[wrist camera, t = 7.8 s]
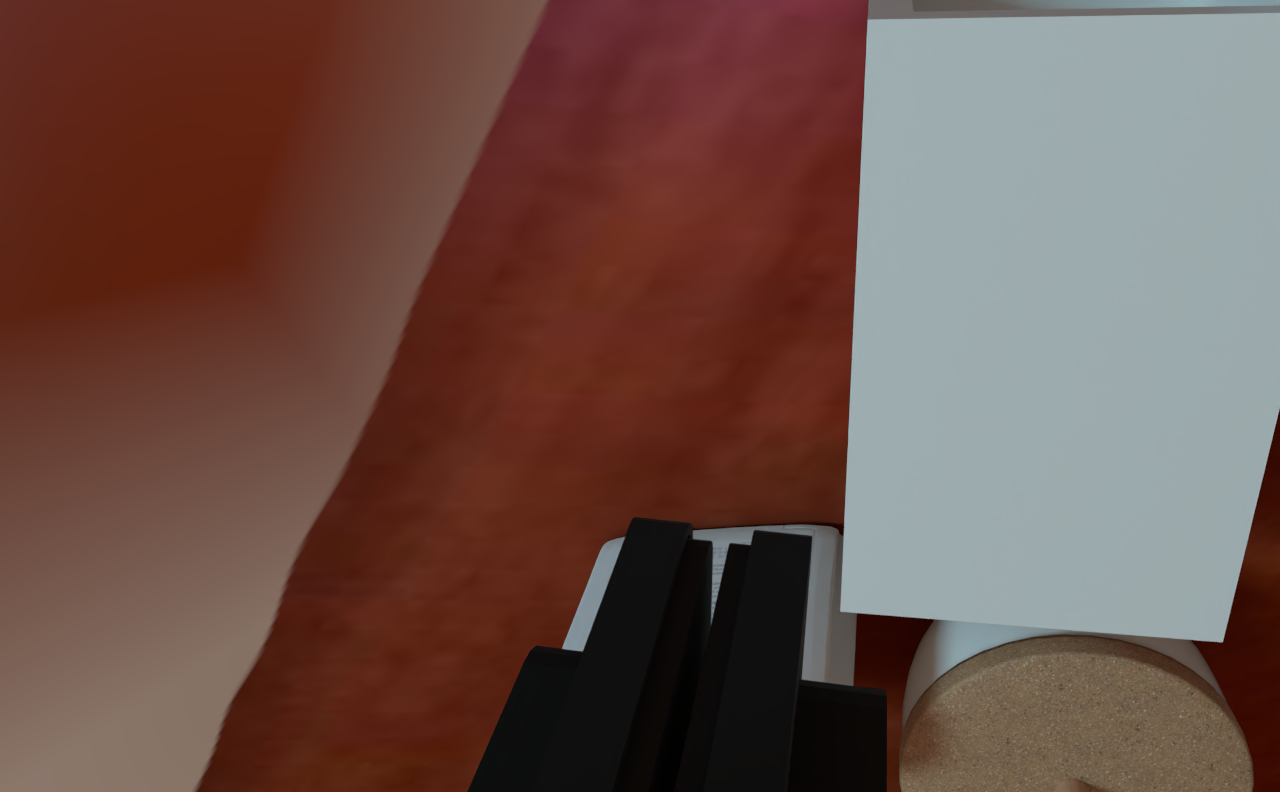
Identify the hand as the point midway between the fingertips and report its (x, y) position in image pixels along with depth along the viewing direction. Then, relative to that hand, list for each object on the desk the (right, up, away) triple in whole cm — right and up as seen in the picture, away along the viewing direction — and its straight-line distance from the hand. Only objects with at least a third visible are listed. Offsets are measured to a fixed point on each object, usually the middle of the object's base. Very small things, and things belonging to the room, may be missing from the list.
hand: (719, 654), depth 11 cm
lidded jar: (+15, -6, +32) cm, 36 cm away
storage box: (+11, +8, +25) cm, 29 cm away
